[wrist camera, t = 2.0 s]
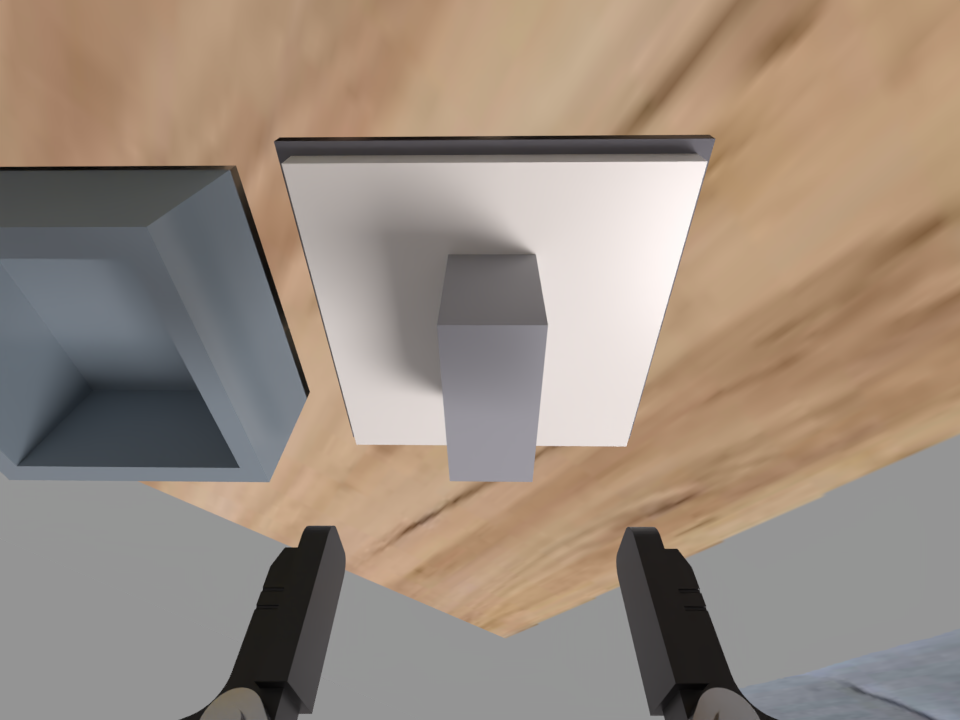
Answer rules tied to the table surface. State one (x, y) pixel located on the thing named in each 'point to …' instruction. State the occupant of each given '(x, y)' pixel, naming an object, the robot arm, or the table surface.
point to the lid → (493, 294)
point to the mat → (494, 147)
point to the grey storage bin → (140, 328)
